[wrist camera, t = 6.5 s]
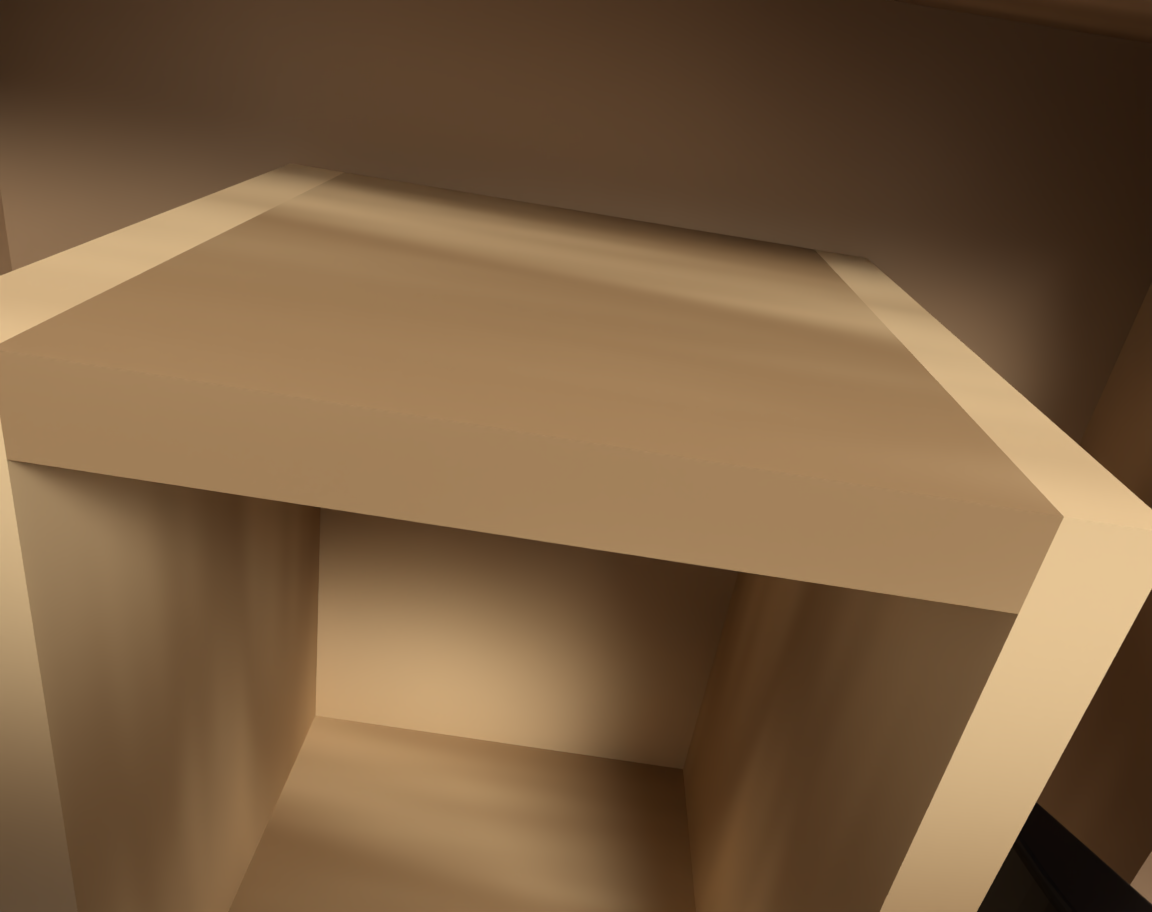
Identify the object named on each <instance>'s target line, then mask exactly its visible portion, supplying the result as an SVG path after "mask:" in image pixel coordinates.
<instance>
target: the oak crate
mask: <svg viewBox="0 0 1152 912" xmlns="http://www.w3.org/2000/svg"><path fill="white" fill-rule="evenodd" d="M1151 589H1152V509H1151V508H1150V507H1148V506H1147V505H1146V504H1145V503H1144V502H1143V501H1142V500H1141V499H1139V498H1138V497H1137V496H1136V495H1135V494H1134V493H1133V492H1131V491H1130V490H1129V489H1128V488H1127V487H1126V486H1125V485H1124V484H1122V483H1121V482H1120V481H1119V480H1118V479H1117V478H1116V477H1114V476H1113V475H1112V474H1111V473H1110V472H1109V471H1108V470H1107V469H1105V468H1104V467H1103V466H1102V465H1101V464H1100V463H1099V462H1097V461H1096V460H1095V459H1094V458H1093V457H1092V456H1091V455H1090V454H1088V453H1087V452H1086V451H1085V450H1084V449H1083V448H1082V447H1080V446H1079V445H1078V444H1077V443H1076V442H1075V441H1074V440H1073V439H1071V438H1070V437H1069V436H1068V435H1067V434H1066V433H1065V432H1063V431H1062V430H1061V429H1060V428H1059V427H1058V426H1057V425H1055V424H1054V423H1053V422H1052V421H1051V420H1050V419H1049V418H1048V417H1046V416H1045V415H1044V414H1043V413H1042V412H1041V411H1040V410H1038V409H1037V408H1036V407H1035V406H1034V405H1033V404H1032V403H1031V402H1029V401H1028V400H1027V399H1026V398H1025V397H1024V396H1023V395H1021V394H1020V393H1019V392H1018V391H1017V390H1016V389H1015V388H1014V387H1012V386H1011V385H1010V384H1009V383H1008V382H1007V381H1006V380H1004V379H1003V378H1002V377H1001V376H1000V375H999V374H998V373H997V372H995V371H994V370H993V369H992V368H991V367H990V366H989V365H987V364H986V363H985V362H984V361H983V360H982V359H981V358H980V357H978V356H977V355H976V354H975V353H974V352H973V351H972V350H970V349H969V348H968V347H967V346H966V345H965V344H964V343H963V342H961V341H960V340H959V339H958V338H957V337H956V336H955V335H953V334H952V333H951V332H950V331H949V330H948V329H947V328H946V327H944V326H943V325H942V324H941V323H940V322H939V321H938V320H936V319H935V318H934V317H933V316H932V315H931V314H930V313H929V312H927V311H926V310H925V309H924V308H923V307H922V306H921V305H919V304H918V303H917V302H916V301H915V300H914V299H913V298H912V297H910V296H909V295H908V294H907V293H906V292H905V291H904V290H902V289H901V288H900V287H899V286H898V285H897V284H896V283H895V282H893V281H892V280H891V279H890V278H889V277H888V276H887V275H885V274H884V273H883V272H882V271H881V270H880V269H879V268H878V267H876V266H875V265H874V264H873V263H872V262H871V261H870V260H868V259H867V258H864V257H858V256H852V255H845V254H839V253H833V252H827V251H821V250H815V249H809V248H803V247H797V246H791V245H784V244H778V243H772V242H766V241H760V240H754V239H748V238H742V237H736V236H730V235H724V234H717V233H711V232H705V231H699V230H693V229H687V228H681V227H675V226H669V225H663V224H656V223H650V222H644V221H638V220H632V219H626V218H620V217H614V216H608V215H602V214H596V213H589V212H583V211H577V210H571V209H565V208H559V207H553V206H547V205H541V204H535V203H528V202H522V201H516V200H510V199H504V198H498V197H492V196H486V195H480V194H474V193H468V192H461V191H455V190H449V189H443V188H437V187H431V186H425V185H419V184H413V183H407V182H400V181H394V180H388V179H382V178H376V177H370V176H364V175H358V174H352V173H346V172H340V171H333V170H327V169H321V168H315V167H309V166H303V165H297V164H288V165H285V166H283V167H280V168H278V169H275V170H272V171H270V172H267V173H265V174H262V175H259V176H257V177H254V178H252V179H249V180H247V181H244V182H241V183H239V184H236V185H234V186H231V187H228V188H226V189H223V190H221V191H218V192H216V193H213V194H210V195H208V196H205V197H203V198H200V199H197V200H195V201H192V202H190V203H187V204H184V205H182V206H179V207H177V208H174V209H172V210H169V211H166V212H164V213H161V214H159V215H156V216H153V217H151V218H148V219H146V220H143V221H141V222H138V223H135V224H133V225H130V226H128V227H125V228H122V229H120V230H117V231H115V232H112V233H109V234H107V235H104V236H102V237H99V238H97V239H94V240H91V241H89V242H86V243H84V244H81V245H78V246H76V247H73V248H71V249H68V250H66V251H63V252H60V253H58V254H55V255H53V256H50V257H47V258H45V259H42V260H40V261H37V262H34V263H32V264H29V265H27V266H24V267H22V268H19V269H16V270H14V271H11V272H9V273H6V274H3V275H1V276H0V912H977V910H978V908H979V907H980V905H981V903H982V901H983V899H984V897H985V896H986V894H987V892H988V890H989V888H990V886H991V884H992V883H993V881H994V879H995V877H996V875H997V873H998V872H999V870H1000V868H1001V866H1002V864H1003V862H1004V860H1005V859H1006V857H1007V855H1008V853H1009V851H1010V849H1011V848H1012V846H1013V844H1014V842H1015V840H1016V838H1017V836H1018V835H1019V833H1020V831H1021V829H1022V827H1023V825H1024V824H1025V822H1026V820H1027V818H1028V816H1029V814H1030V812H1031V811H1032V809H1033V807H1034V805H1035V803H1036V801H1037V800H1038V798H1039V796H1040V794H1041V792H1042V790H1043V788H1044V787H1045V785H1046V783H1047V781H1048V779H1049V777H1050V776H1051V774H1052V772H1053V770H1054V768H1055V766H1056V764H1057V763H1058V761H1059V759H1060V757H1061V755H1062V753H1063V752H1064V750H1065V748H1066V746H1067V744H1068V742H1069V740H1070V739H1071V737H1072V735H1073V733H1074V731H1075V729H1076V728H1077V726H1078V724H1079V722H1080V720H1081V718H1082V717H1083V715H1084V713H1085V711H1086V709H1087V707H1088V705H1089V704H1090V702H1091V700H1092V698H1093V696H1094V694H1095V693H1096V691H1097V689H1098V687H1099V685H1100V683H1101V681H1102V680H1103V678H1104V676H1105V674H1106V672H1107V670H1108V669H1109V667H1110V665H1111V663H1112V661H1113V659H1114V657H1115V656H1116V654H1117V652H1118V650H1119V648H1120V646H1121V645H1122V643H1123V641H1124V639H1125V637H1126V635H1127V633H1128V632H1129V630H1130V628H1131V626H1132V624H1133V622H1134V621H1135V619H1136V617H1137V615H1138V613H1139V611H1140V609H1141V608H1142V606H1143V604H1144V602H1145V600H1146V598H1147V597H1148V595H1149V593H1150V591H1151Z"/></svg>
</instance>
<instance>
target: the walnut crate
mask: <svg viewBox="0 0 1152 912" xmlns="http://www.w3.org/2000/svg"><path fill="white" fill-rule="evenodd" d="M288 164H297V165H303V166H309V167H315V168H321V169H327V170H333V171H340V172H346V173H352V174H358V175H364V176H370V177H376V178H382V179H388V180H394V181H400V182H407V183H413V184H419V185H425V186H431V187H437V188H443V189H449V190H455V191H461V192H468V193H474V194H480V195H486V196H492V197H498V198H504V199H510V200H516V201H522V202H528V203H535V204H541V205H547V206H553V207H559V208H565V209H571V210H577V211H583V212H589V213H596V214H602V215H608V216H614V217H620V218H626V219H632V220H638V221H644V222H650V223H656V224H663V225H669V226H675V227H681V228H687V229H693V230H699V231H705V232H711V233H717V234H724V235H730V236H736V237H742V238H748V239H754V240H760V241H766V242H772V243H778V244H784V245H791V246H797V247H803V248H809V249H815V250H821V251H827V252H833V253H839V254H845V255H852V256H858V257H864V258H867V259H868V260H870V261H871V262H872V263H873V264H874V265H875V266H876V267H878V268H879V269H880V270H881V271H882V272H883V273H884V274H885V275H887V276H888V277H889V278H890V279H891V280H892V281H893V282H895V283H896V284H897V285H898V286H899V287H900V288H901V289H902V290H904V291H905V292H906V293H907V294H908V295H909V296H910V297H912V298H913V299H914V300H915V301H916V302H917V303H918V304H919V305H921V306H922V307H923V308H924V309H925V310H926V311H927V312H929V313H930V314H931V315H932V316H933V317H934V318H935V319H936V320H938V321H939V322H940V323H941V324H942V325H943V326H944V327H946V328H947V329H948V330H949V331H950V332H951V333H952V334H953V335H955V336H956V337H957V338H958V339H959V340H960V341H961V342H963V343H964V344H965V345H966V346H967V347H968V348H969V349H970V350H972V351H973V352H974V353H975V354H976V355H977V356H978V357H980V358H981V359H982V360H983V361H984V362H985V363H986V364H987V365H989V366H990V367H991V368H992V369H993V370H994V371H995V372H997V373H998V374H999V375H1000V376H1001V377H1002V378H1003V379H1004V380H1006V381H1007V382H1008V383H1009V384H1010V385H1011V386H1012V387H1014V388H1015V389H1016V390H1017V391H1018V392H1019V393H1020V394H1021V395H1023V396H1024V397H1025V398H1026V399H1027V400H1028V401H1029V402H1031V403H1032V404H1033V405H1034V406H1035V407H1036V408H1037V409H1038V410H1040V411H1041V412H1042V413H1043V414H1044V415H1045V416H1046V417H1048V418H1049V419H1050V420H1051V421H1052V422H1053V423H1054V424H1055V425H1057V426H1058V427H1059V428H1060V429H1061V430H1062V431H1063V432H1065V433H1066V434H1067V435H1068V436H1069V437H1070V438H1071V439H1073V440H1074V441H1075V442H1076V443H1077V444H1078V445H1079V446H1080V447H1082V448H1083V449H1084V450H1085V451H1086V452H1087V453H1088V454H1090V455H1091V456H1092V457H1093V458H1094V459H1095V460H1096V461H1097V462H1099V463H1100V464H1101V465H1102V466H1103V467H1104V468H1105V469H1107V470H1108V471H1109V472H1110V473H1111V474H1112V475H1113V476H1114V477H1116V478H1117V479H1118V480H1119V481H1120V482H1121V483H1122V484H1124V485H1125V486H1126V487H1127V488H1128V489H1129V490H1130V491H1131V492H1133V493H1134V494H1135V495H1136V496H1137V497H1138V498H1139V499H1141V500H1142V501H1143V502H1144V503H1145V504H1146V505H1147V506H1148V507H1150V508H1151V509H1152V0H0V276H1V275H3V274H6V273H9V272H11V271H14V270H16V269H19V268H22V267H24V266H27V265H29V264H32V263H34V262H37V261H40V260H42V259H45V258H47V257H50V256H53V255H55V254H58V253H60V252H63V251H66V250H68V249H71V248H73V247H76V246H78V245H81V244H84V243H86V242H89V241H91V240H94V239H97V238H99V237H102V236H104V235H107V234H109V233H112V232H115V231H117V230H120V229H122V228H125V227H128V226H130V225H133V224H135V223H138V222H141V221H143V220H146V219H148V218H151V217H153V216H156V215H159V214H161V213H164V212H166V211H169V210H172V209H174V208H177V207H179V206H182V205H184V204H187V203H190V202H192V201H195V200H197V199H200V198H203V197H205V196H208V195H210V194H213V193H216V192H218V191H221V190H223V189H226V188H228V187H231V186H234V185H236V184H239V183H241V182H244V181H247V180H249V179H252V178H254V177H257V176H259V175H262V174H265V173H267V172H270V171H272V170H275V169H278V168H280V167H283V166H285V165H288ZM1036 802H1037V803H1038V804H1039V805H1040V806H1042V807H1043V808H1044V809H1045V810H1046V811H1047V812H1048V813H1049V814H1051V815H1052V816H1053V817H1054V818H1055V819H1056V820H1057V821H1058V822H1060V823H1061V824H1062V825H1063V826H1064V827H1065V828H1066V829H1068V830H1069V831H1070V832H1071V833H1072V834H1073V835H1074V836H1075V837H1077V838H1078V839H1079V840H1080V841H1081V842H1082V843H1083V844H1084V845H1086V846H1087V847H1088V848H1089V849H1090V850H1091V851H1092V852H1094V853H1095V854H1096V855H1097V856H1098V857H1099V858H1100V859H1101V860H1103V861H1104V862H1105V863H1106V864H1107V865H1108V866H1109V867H1110V868H1112V869H1113V870H1114V871H1115V872H1116V873H1117V874H1118V875H1120V876H1121V877H1122V878H1123V879H1124V880H1125V881H1126V882H1127V883H1129V884H1130V885H1131V886H1132V887H1133V888H1134V889H1135V890H1136V891H1138V892H1139V893H1140V894H1141V895H1142V896H1143V897H1144V898H1146V899H1147V900H1148V901H1149V902H1150V903H1151V904H1152V589H1151V591H1150V593H1149V595H1148V597H1147V598H1146V600H1145V602H1144V604H1143V606H1142V608H1141V609H1140V611H1139V613H1138V615H1137V617H1136V619H1135V621H1134V622H1133V624H1132V626H1131V628H1130V630H1129V632H1128V633H1127V635H1126V637H1125V639H1124V641H1123V643H1122V645H1121V646H1120V648H1119V650H1118V652H1117V654H1116V656H1115V657H1114V659H1113V661H1112V663H1111V665H1110V667H1109V669H1108V670H1107V672H1106V674H1105V676H1104V678H1103V680H1102V681H1101V683H1100V685H1099V687H1098V689H1097V691H1096V693H1095V694H1094V696H1093V698H1092V700H1091V702H1090V704H1089V705H1088V707H1087V709H1086V711H1085V713H1084V715H1083V717H1082V718H1081V720H1080V722H1079V724H1078V726H1077V728H1076V729H1075V731H1074V733H1073V735H1072V737H1071V739H1070V740H1069V742H1068V744H1067V746H1066V748H1065V750H1064V752H1063V753H1062V755H1061V757H1060V759H1059V761H1058V763H1057V764H1056V766H1055V768H1054V770H1053V772H1052V774H1051V776H1050V777H1049V779H1048V781H1047V783H1046V785H1045V787H1044V788H1043V790H1042V792H1041V794H1040V796H1039V798H1038V800H1037V801H1036Z"/></svg>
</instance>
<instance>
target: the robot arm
mask: <svg viewBox="0 0 1152 912" xmlns="http://www.w3.org/2000/svg"><path fill="white" fill-rule="evenodd" d="M977 912H1152V904H1151V903H1150V902H1149V901H1148V900H1147V899H1146V898H1144V897H1143V896H1142V895H1141V894H1140V893H1139V892H1138V891H1136V890H1135V889H1134V888H1133V887H1132V886H1131V885H1130V884H1129V883H1127V882H1126V881H1125V880H1124V879H1123V878H1122V877H1121V876H1120V875H1118V874H1117V873H1116V872H1115V871H1114V870H1113V869H1112V868H1110V867H1109V866H1108V865H1107V864H1106V863H1105V862H1104V861H1103V860H1101V859H1100V858H1099V857H1098V856H1097V855H1096V854H1095V853H1094V852H1092V851H1091V850H1090V849H1089V848H1088V847H1087V846H1086V845H1084V844H1083V843H1082V842H1081V841H1080V840H1079V839H1078V838H1077V837H1075V836H1074V835H1073V834H1072V833H1071V832H1070V831H1069V830H1068V829H1066V828H1065V827H1064V826H1063V825H1062V824H1061V823H1060V822H1058V821H1057V820H1056V819H1055V818H1054V817H1053V816H1052V815H1051V814H1049V813H1048V812H1047V811H1046V810H1045V809H1044V808H1043V807H1042V806H1040V805H1039V804H1038V803H1037V802H1036V803H1035V805H1034V807H1033V809H1032V811H1031V812H1030V814H1029V816H1028V818H1027V820H1026V822H1025V824H1024V825H1023V827H1022V829H1021V831H1020V833H1019V835H1018V836H1017V838H1016V840H1015V842H1014V844H1013V846H1012V848H1011V849H1010V851H1009V853H1008V855H1007V857H1006V859H1005V860H1004V862H1003V864H1002V866H1001V868H1000V870H999V872H998V873H997V875H996V877H995V879H994V881H993V883H992V884H991V886H990V888H989V890H988V892H987V894H986V896H985V897H984V899H983V901H982V903H981V905H980V907H979V908H978V910H977Z"/></svg>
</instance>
